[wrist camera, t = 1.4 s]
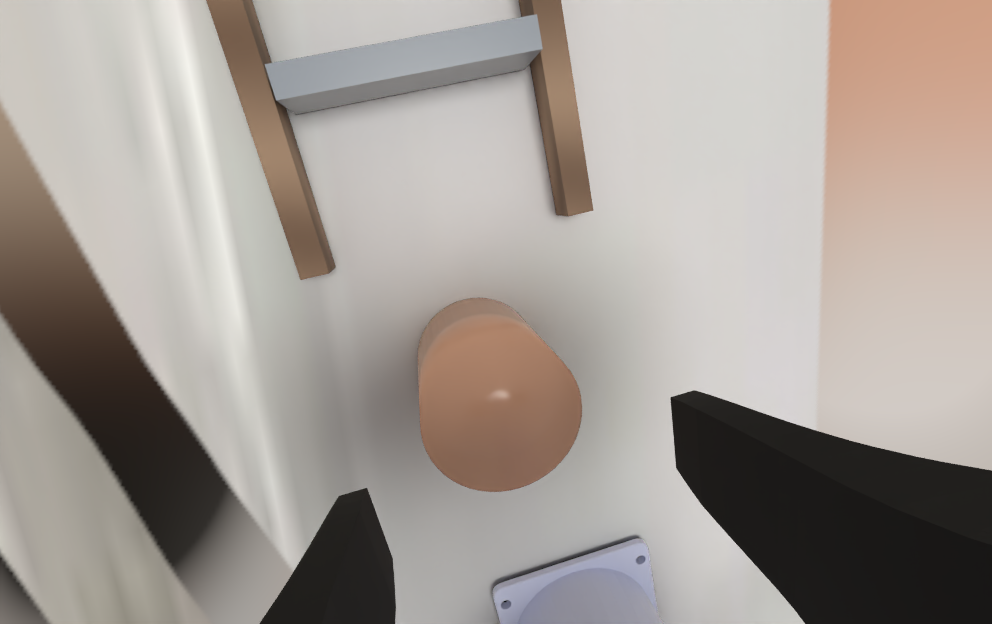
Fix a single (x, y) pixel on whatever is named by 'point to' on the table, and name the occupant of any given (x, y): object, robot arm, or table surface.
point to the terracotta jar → (493, 397)
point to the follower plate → (405, 65)
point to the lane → (284, 159)
